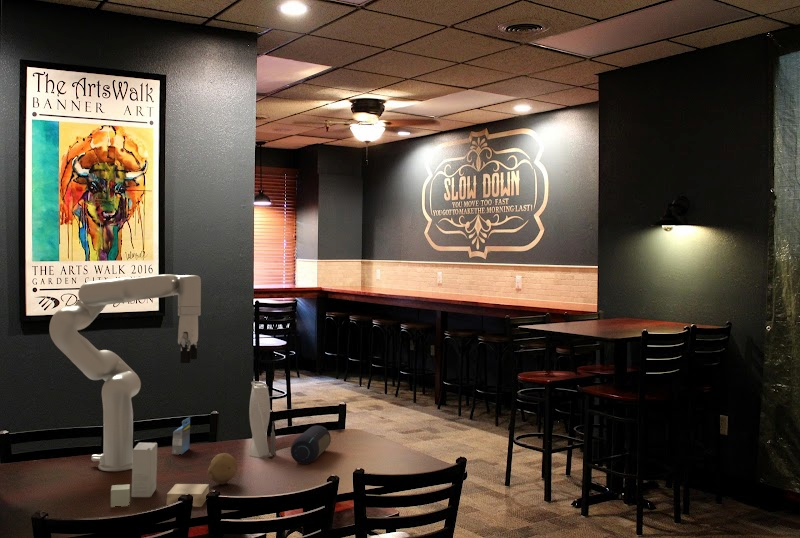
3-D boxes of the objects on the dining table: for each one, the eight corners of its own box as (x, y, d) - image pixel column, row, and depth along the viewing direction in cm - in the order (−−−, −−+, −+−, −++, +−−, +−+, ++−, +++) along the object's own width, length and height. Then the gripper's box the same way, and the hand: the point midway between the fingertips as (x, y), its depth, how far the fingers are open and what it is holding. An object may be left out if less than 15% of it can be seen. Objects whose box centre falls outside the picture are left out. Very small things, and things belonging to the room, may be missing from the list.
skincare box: (137, 489, 244) (137, 442, 244) (157, 489, 244) (157, 441, 244) (131, 498, 236) (131, 448, 235) (151, 497, 236) (152, 448, 236)
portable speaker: (315, 467, 273) (315, 438, 273) (287, 465, 275) (288, 437, 274) (333, 450, 298) (333, 423, 298) (307, 448, 299) (307, 422, 299)
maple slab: (166, 507, 228) (166, 493, 228) (175, 497, 238) (175, 483, 238) (201, 507, 229) (201, 494, 228) (208, 497, 239) (208, 484, 238)
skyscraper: (260, 460, 282) (261, 382, 282) (243, 457, 286) (244, 380, 286) (276, 455, 289) (277, 379, 289) (259, 452, 293) (260, 377, 293)
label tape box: (179, 448, 296) (179, 416, 296) (190, 448, 296) (190, 416, 296) (171, 454, 288) (172, 421, 287) (182, 454, 287) (183, 421, 287)
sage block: (110, 507, 227) (110, 490, 227) (111, 502, 232) (112, 485, 232) (129, 506, 228) (129, 489, 228) (129, 500, 233) (130, 484, 233)
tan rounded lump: (243, 485, 250) (243, 453, 250) (218, 490, 244) (219, 458, 244) (227, 478, 257) (228, 448, 257) (203, 484, 251) (203, 453, 251)
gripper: (184, 309, 278) (183, 357, 278) (171, 312, 261) (171, 364, 261) (205, 309, 278) (205, 357, 278) (194, 313, 261) (194, 364, 261)
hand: (188, 361), depth 270 cm, fingers open, 9 cm apart
